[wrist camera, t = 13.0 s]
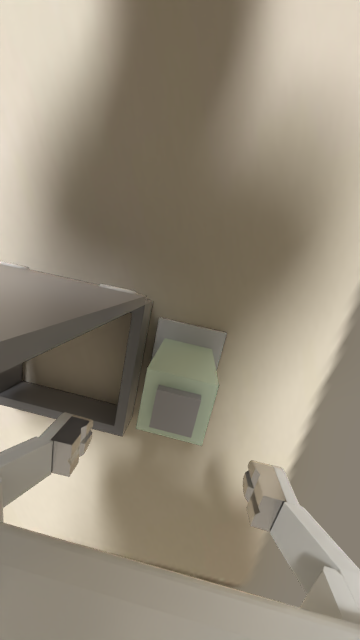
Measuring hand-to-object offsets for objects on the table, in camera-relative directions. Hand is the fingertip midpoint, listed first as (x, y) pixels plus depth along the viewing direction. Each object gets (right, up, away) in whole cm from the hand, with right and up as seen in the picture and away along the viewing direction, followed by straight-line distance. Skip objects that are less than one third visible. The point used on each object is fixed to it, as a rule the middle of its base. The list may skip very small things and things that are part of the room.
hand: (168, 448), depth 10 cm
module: (+1, +2, +11) cm, 11 cm away
